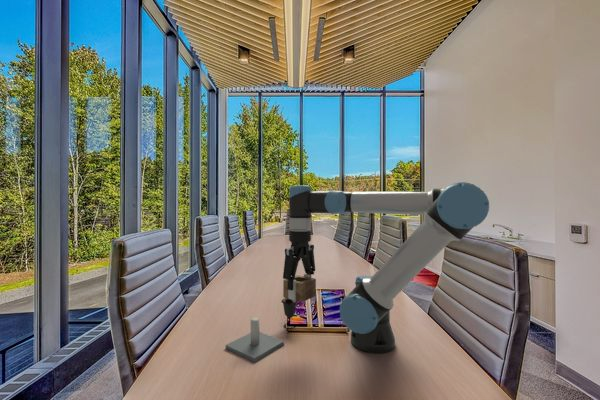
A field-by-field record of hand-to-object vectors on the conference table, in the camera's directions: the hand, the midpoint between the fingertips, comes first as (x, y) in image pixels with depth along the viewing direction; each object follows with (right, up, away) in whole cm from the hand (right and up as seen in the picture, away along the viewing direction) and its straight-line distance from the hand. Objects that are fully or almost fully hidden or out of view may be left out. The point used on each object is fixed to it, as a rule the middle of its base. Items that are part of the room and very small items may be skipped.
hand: (300, 295), depth 102 cm
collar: (0, 0, 0) cm, 0 cm away
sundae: (-4, -17, +16) cm, 24 cm away
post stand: (-16, -17, -1) cm, 23 cm away
